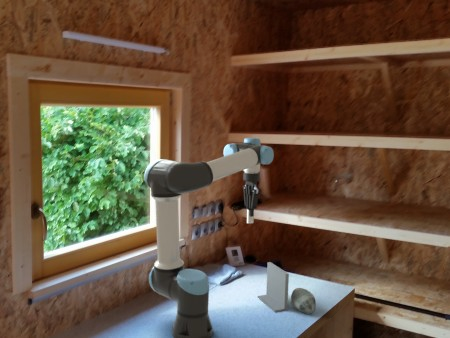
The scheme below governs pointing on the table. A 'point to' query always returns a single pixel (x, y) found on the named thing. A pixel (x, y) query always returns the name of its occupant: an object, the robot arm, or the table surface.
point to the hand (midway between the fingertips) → (250, 222)
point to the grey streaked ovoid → (303, 300)
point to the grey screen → (276, 288)
